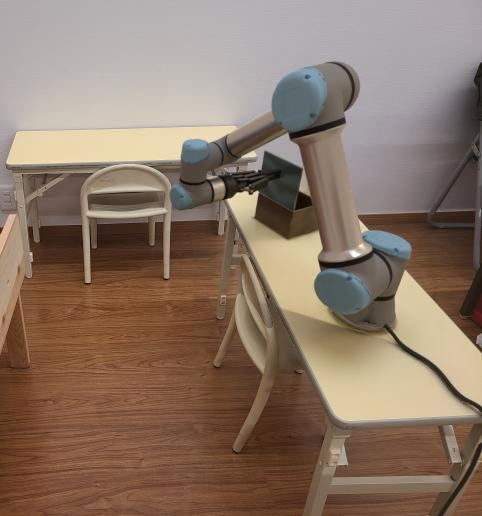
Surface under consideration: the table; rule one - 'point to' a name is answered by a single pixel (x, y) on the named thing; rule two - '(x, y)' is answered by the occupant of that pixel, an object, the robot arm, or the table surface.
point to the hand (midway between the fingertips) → (278, 173)
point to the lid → (282, 180)
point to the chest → (287, 216)
